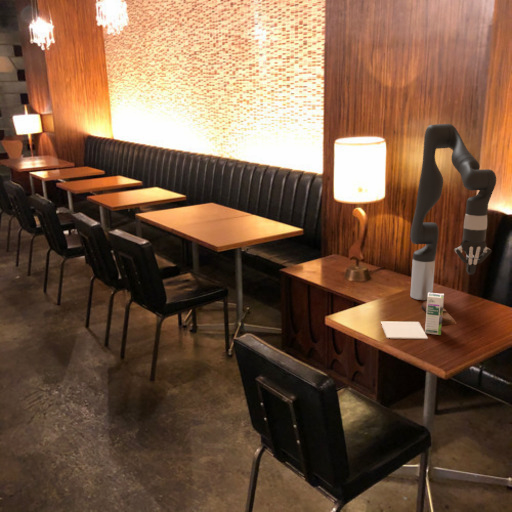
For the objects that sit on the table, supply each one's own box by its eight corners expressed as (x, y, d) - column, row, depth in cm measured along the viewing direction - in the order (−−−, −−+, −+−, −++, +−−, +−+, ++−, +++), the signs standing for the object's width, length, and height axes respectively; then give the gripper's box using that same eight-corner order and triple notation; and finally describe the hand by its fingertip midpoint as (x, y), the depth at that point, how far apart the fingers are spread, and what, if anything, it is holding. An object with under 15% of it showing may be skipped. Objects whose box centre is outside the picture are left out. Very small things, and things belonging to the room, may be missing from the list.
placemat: (380, 322, 210) (380, 321, 210) (418, 323, 209) (418, 321, 209) (386, 338, 196) (386, 337, 195) (427, 339, 194) (427, 337, 194)
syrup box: (424, 333, 199) (427, 296, 195) (425, 327, 205) (428, 291, 201) (440, 335, 197) (443, 298, 193) (441, 329, 203) (444, 293, 199)
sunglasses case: (459, 323, 208) (451, 310, 206) (442, 333, 208) (435, 319, 206) (440, 307, 225) (433, 294, 223) (425, 315, 225) (418, 303, 224)
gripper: (490, 224, 193) (485, 271, 197) (452, 224, 194) (448, 270, 198) (498, 229, 186) (493, 277, 190) (458, 229, 186) (454, 276, 191)
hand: (470, 273), depth 194 cm, fingers closed
